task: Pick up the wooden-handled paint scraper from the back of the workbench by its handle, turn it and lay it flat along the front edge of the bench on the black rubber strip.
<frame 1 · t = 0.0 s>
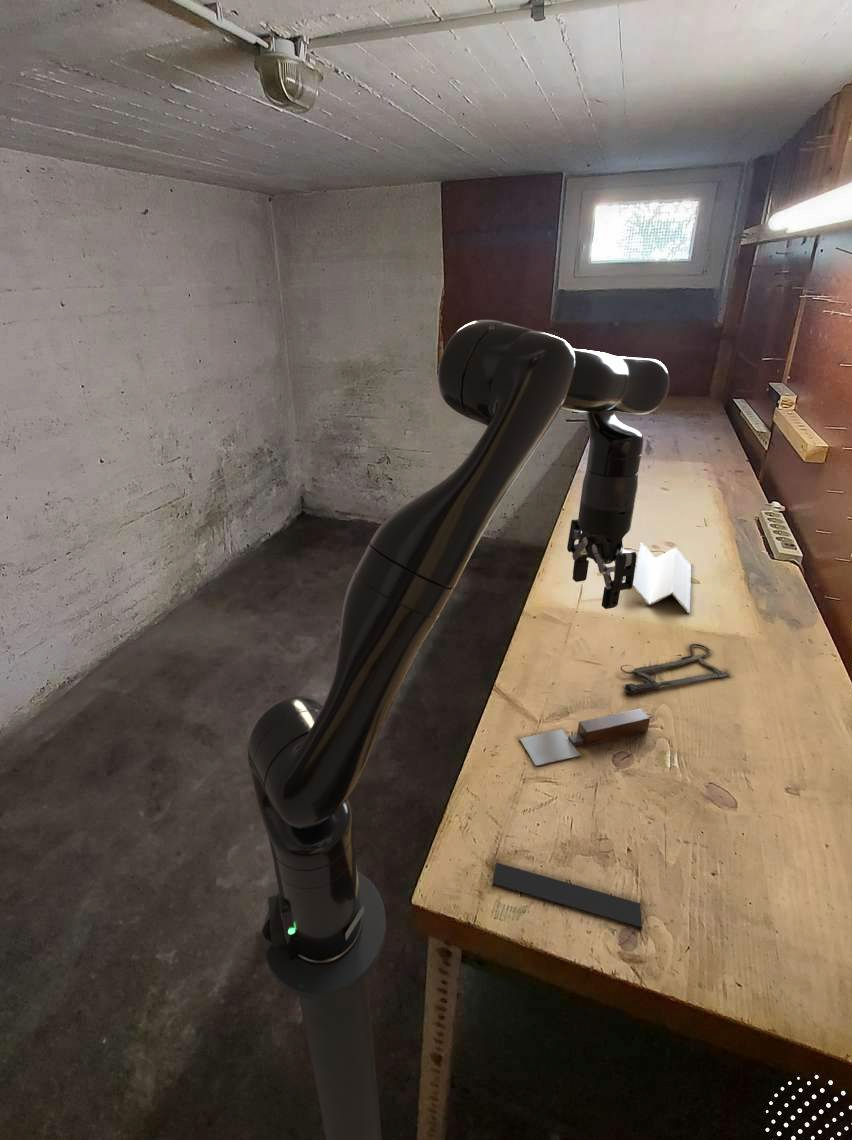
hand: (593, 593, 89), 25 cm above the table, tool pointing down, fingers open, 8 cm apart
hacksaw: (666, 669, 111), on the table
scraper: (612, 733, 96), on the table
edge strip: (565, 894, 72), on the table
z bracket: (661, 583, 140), on the table
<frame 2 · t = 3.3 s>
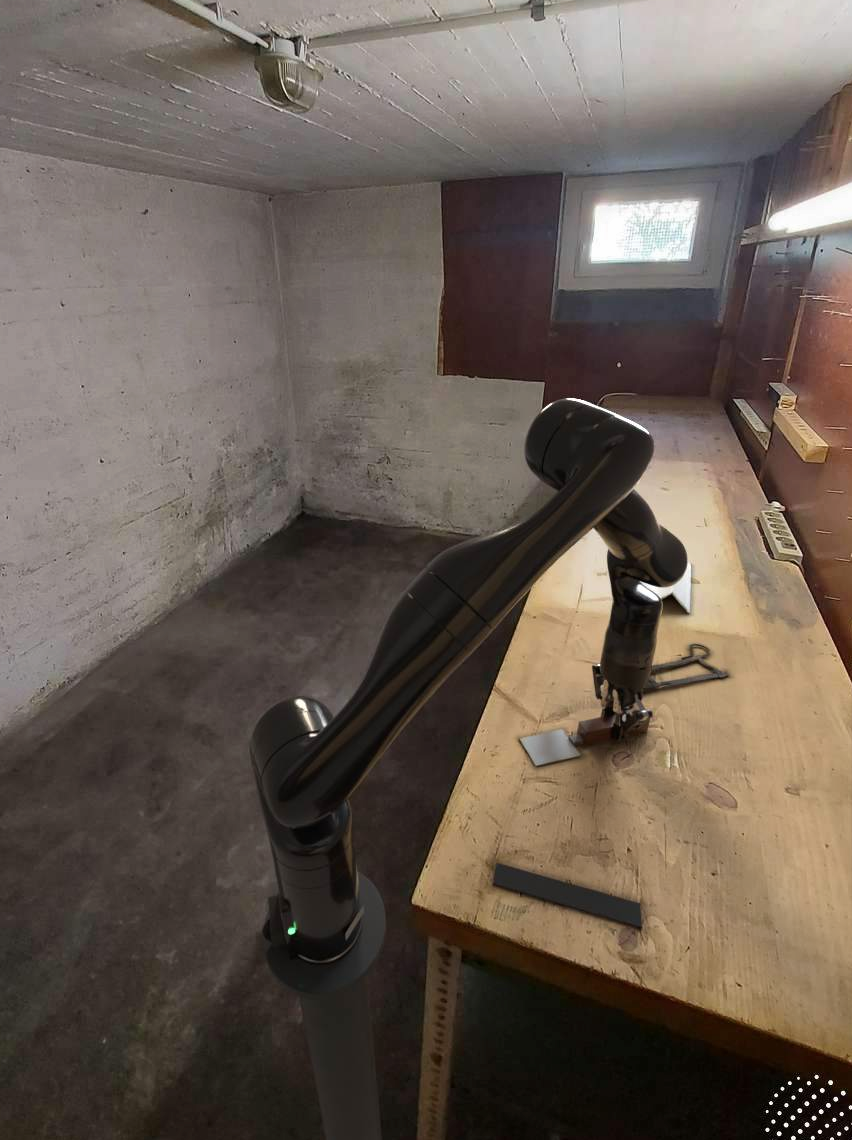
hand: (612, 731, 96), 0 cm above the table, tool pointing down, fingers closed on scraper, 2 cm apart
scraper: (612, 733, 96), on the table, touching gripper
everything else where it was.
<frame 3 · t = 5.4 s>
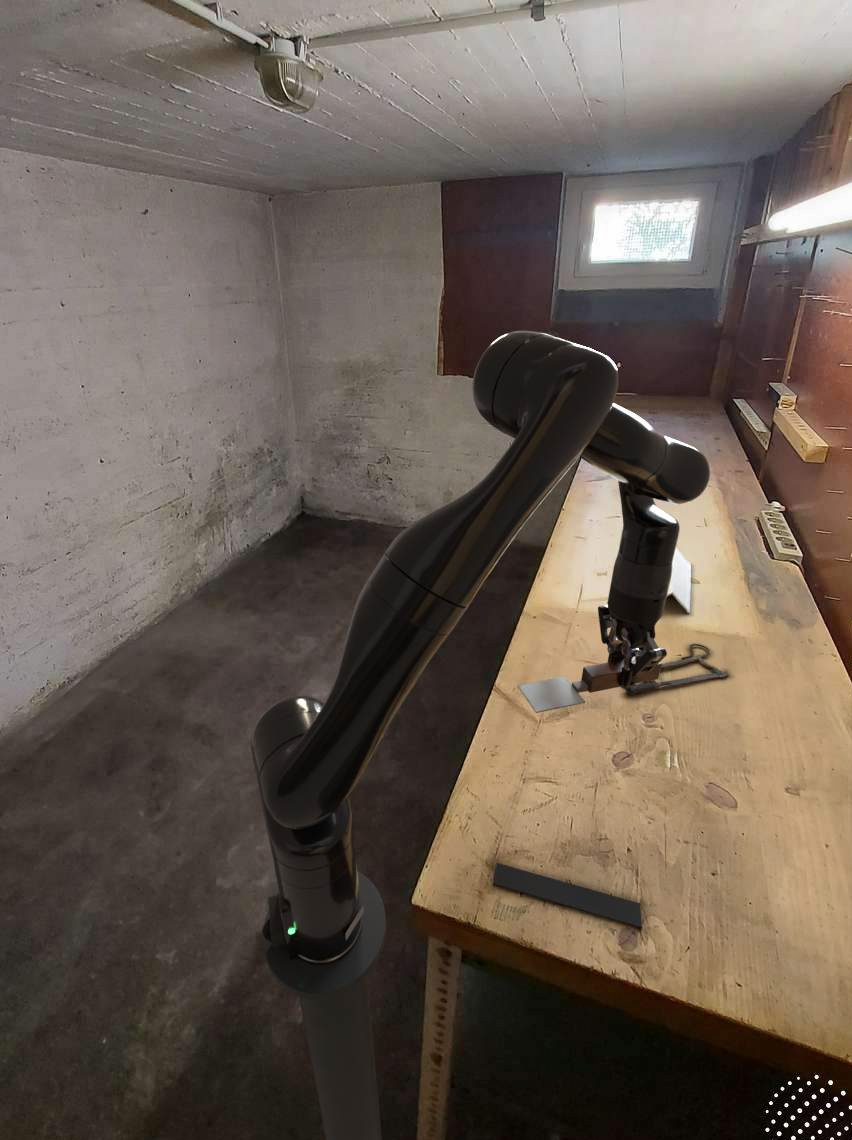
hand: (619, 679, 87), 14 cm above the table, tool pointing down, fingers closed on scraper, 2 cm apart
scraper: (619, 680, 87), point 14 cm above the table, touching gripper
everything else where it was.
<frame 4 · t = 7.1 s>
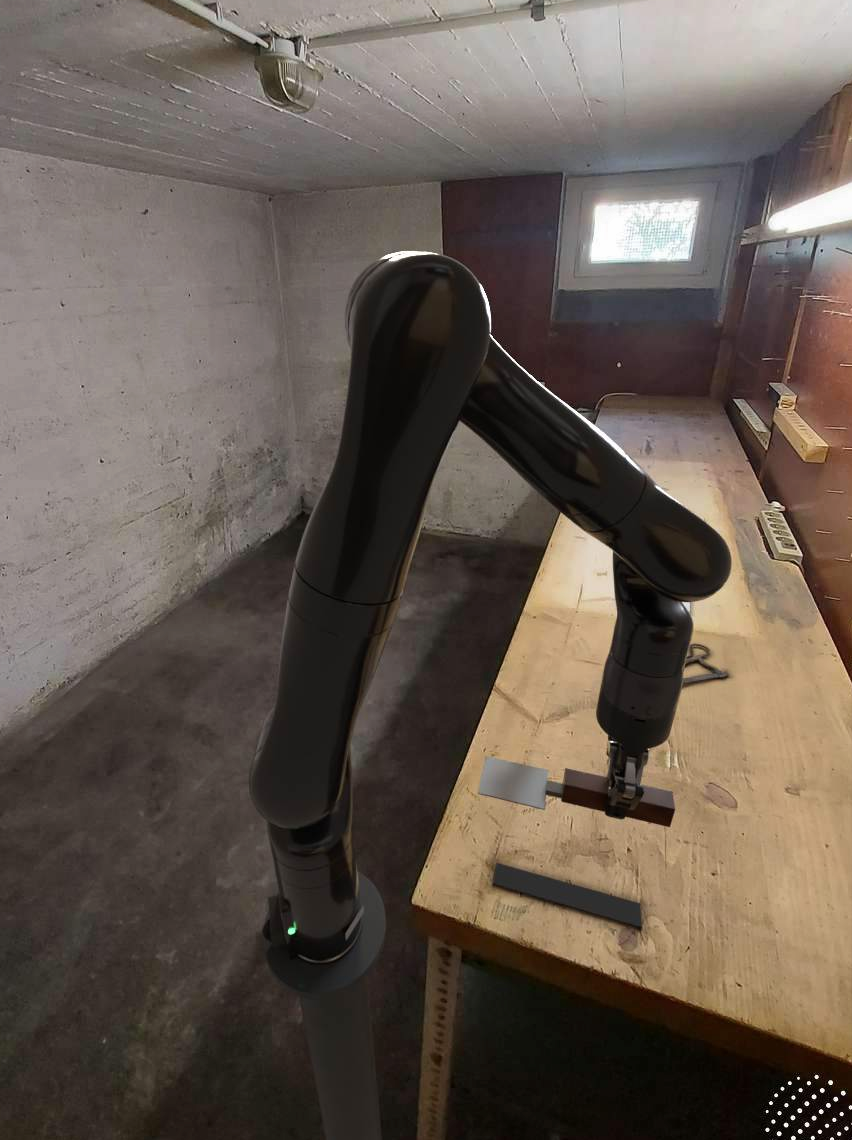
hand: (613, 803, 66), 15 cm above the table, tool pointing down, fingers closed on scraper, 2 cm apart
scraper: (613, 805, 66), point 14 cm above the table, touching gripper
everything else where it was.
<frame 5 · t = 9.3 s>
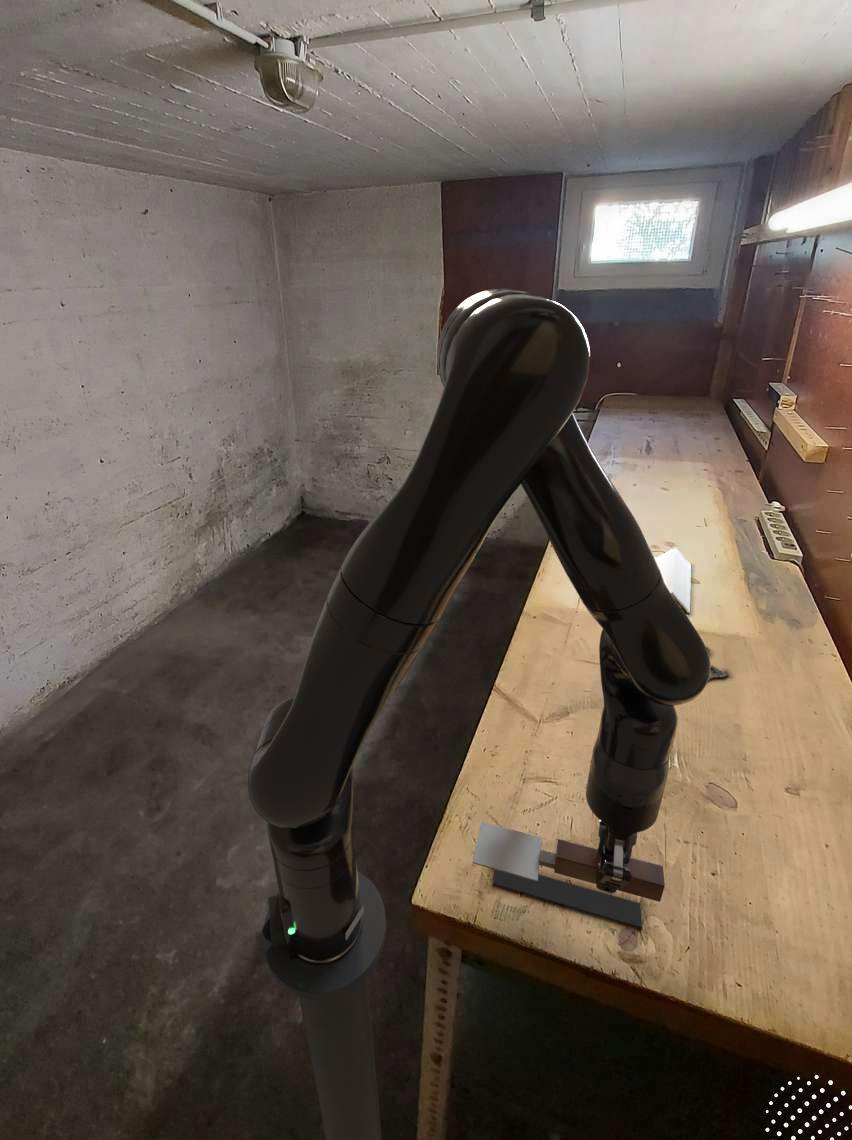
hand: (605, 875, 68), 6 cm above the table, tool pointing down, fingers closed on scraper, 2 cm apart
scraper: (605, 877, 68), point 5 cm above the table, touching gripper
everything else where it was.
when the fingers open (0 cm above the table, at t = 10.9 s): scraper stays where it is, resting on edge strip.
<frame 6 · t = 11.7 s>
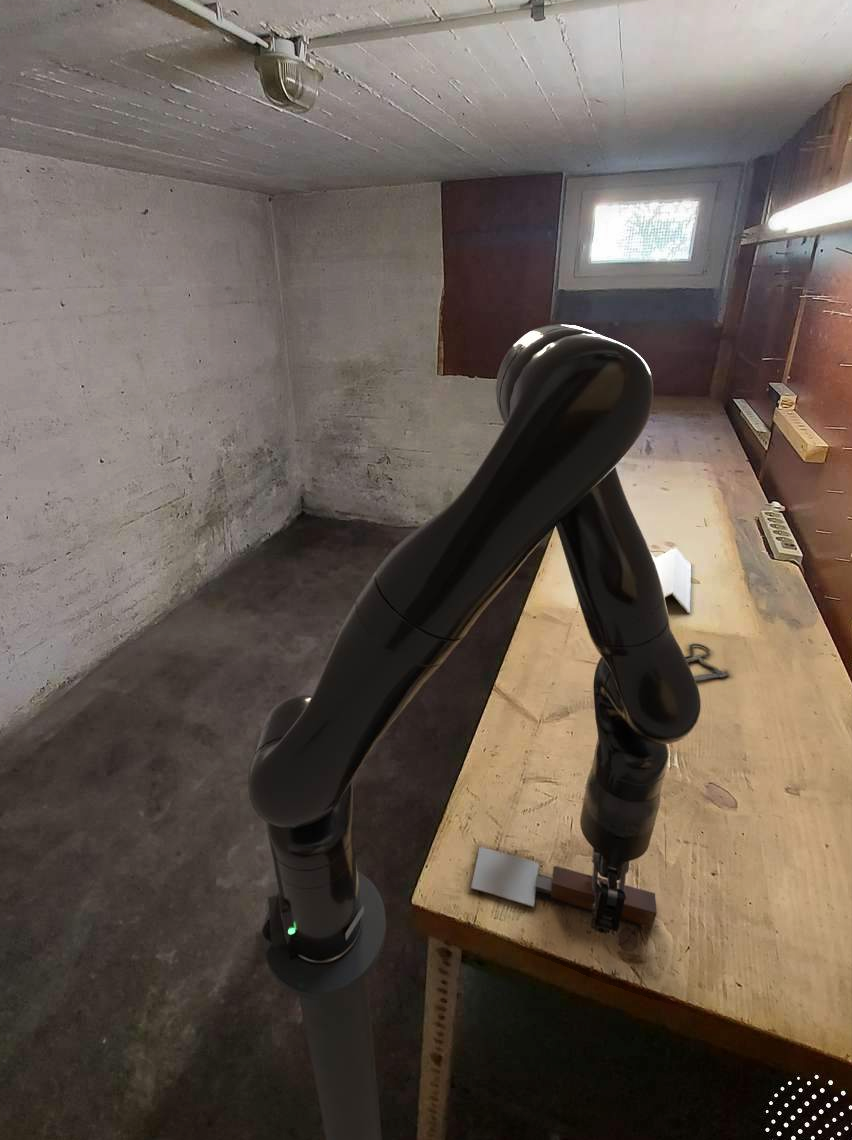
hand: (599, 894, 70), 2 cm above the table, tool pointing down, fingers open, 8 cm apart
scraper: (599, 903, 70), resting on edge strip
everything else where it was.
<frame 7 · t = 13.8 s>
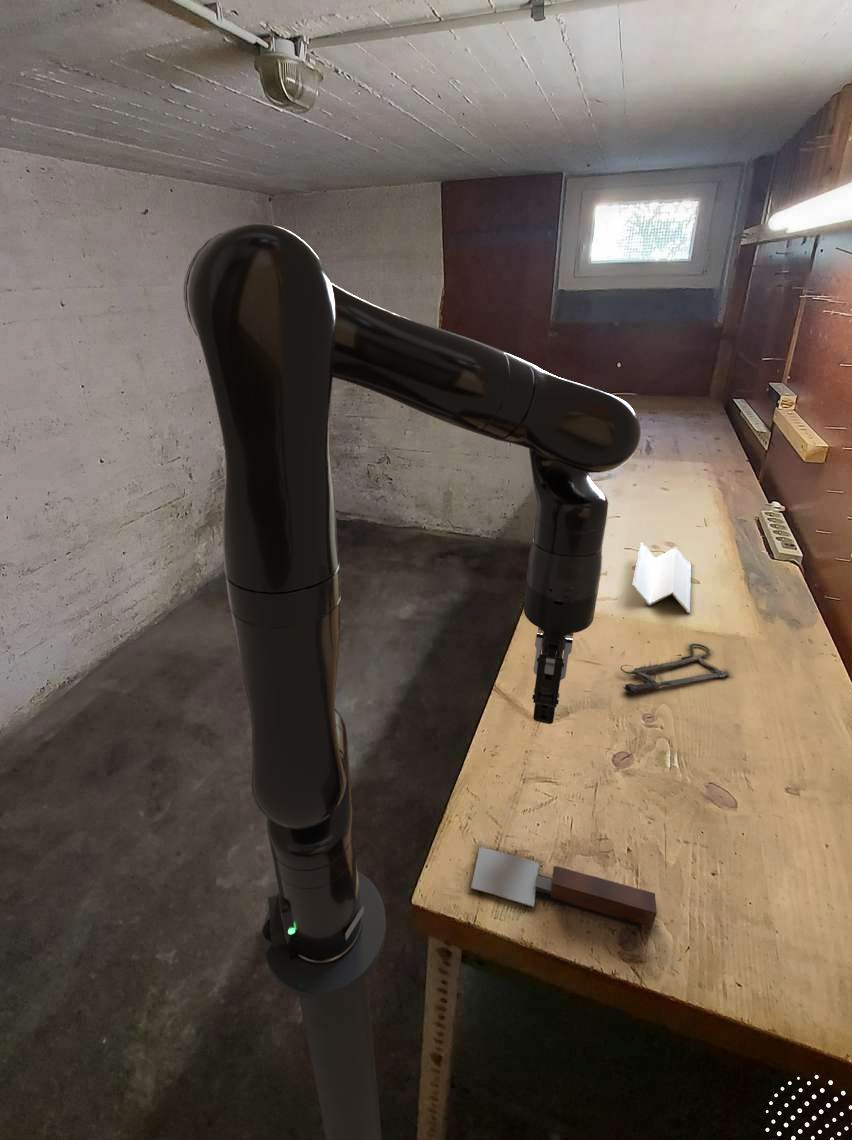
hand: (546, 696, 67), 26 cm above the table, tool pointing down, fingers open, 8 cm apart
nothing on the table moved.
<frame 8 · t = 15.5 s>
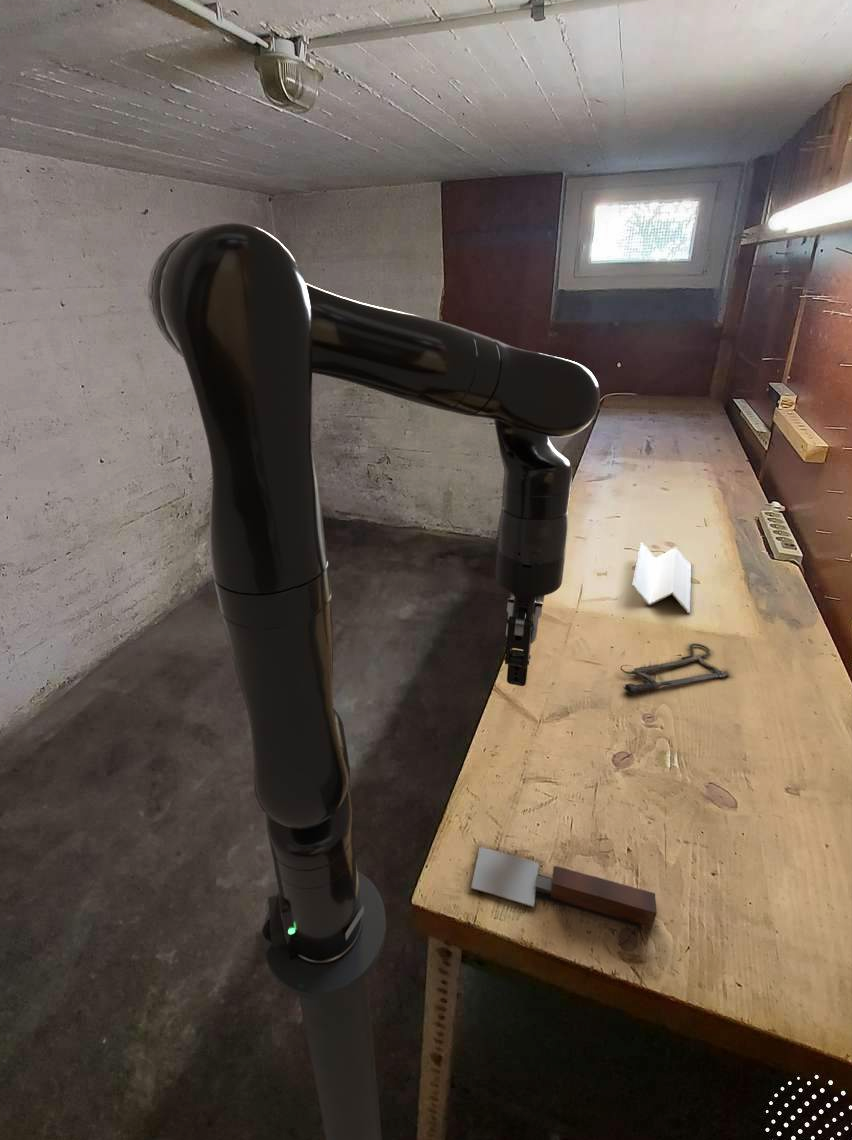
hand: (520, 661, 70), 28 cm above the table, tool pointing down, fingers open, 8 cm apart
nothing on the table moved.
at the end: scraper inside the target area on the edge strip (0.9 cm from its centre), point 0.2 cm above the edge strip's base; scraper tilted 0°; the gripper is holding nothing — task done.
